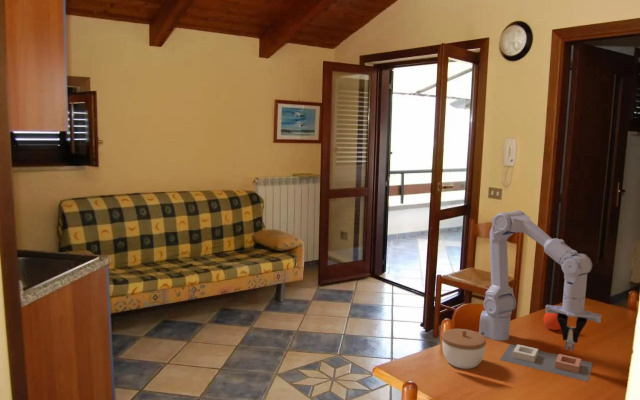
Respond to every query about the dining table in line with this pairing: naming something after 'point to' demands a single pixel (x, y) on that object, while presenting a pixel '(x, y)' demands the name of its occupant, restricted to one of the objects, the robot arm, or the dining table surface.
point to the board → (548, 364)
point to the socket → (568, 363)
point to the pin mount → (525, 353)
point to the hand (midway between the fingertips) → (570, 340)
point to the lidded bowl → (463, 347)
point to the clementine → (551, 321)
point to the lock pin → (570, 338)
